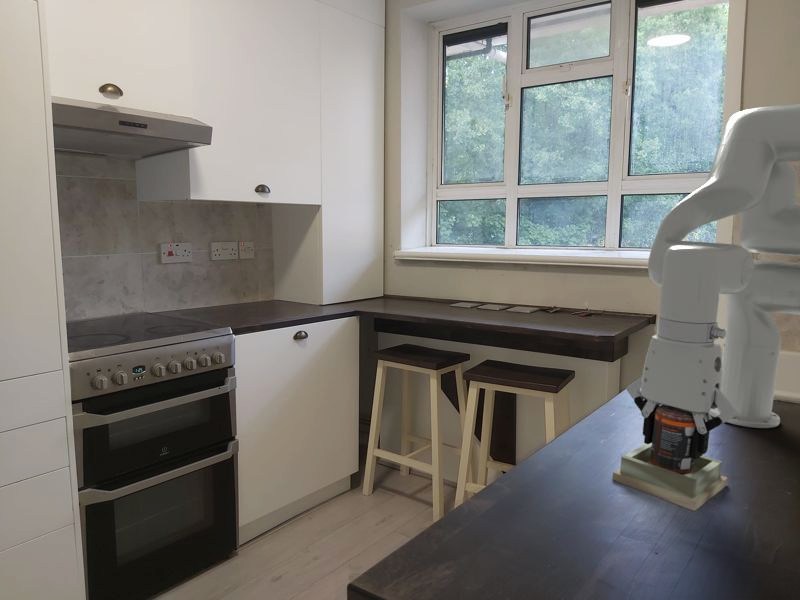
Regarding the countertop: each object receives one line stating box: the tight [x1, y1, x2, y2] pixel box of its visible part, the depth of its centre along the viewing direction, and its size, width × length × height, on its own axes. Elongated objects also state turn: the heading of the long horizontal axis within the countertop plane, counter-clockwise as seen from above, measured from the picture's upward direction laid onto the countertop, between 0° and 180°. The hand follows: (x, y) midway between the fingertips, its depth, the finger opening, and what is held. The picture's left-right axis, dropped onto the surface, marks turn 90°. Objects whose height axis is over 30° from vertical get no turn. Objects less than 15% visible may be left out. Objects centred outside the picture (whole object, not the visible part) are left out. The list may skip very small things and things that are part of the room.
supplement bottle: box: [650, 405, 697, 475], centre depth 87 cm, size 6×6×11 cm
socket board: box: [611, 443, 729, 512], centre depth 88 cm, size 12×12×4 cm
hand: (673, 447), depth 87 cm, fingers open, 6 cm apart
